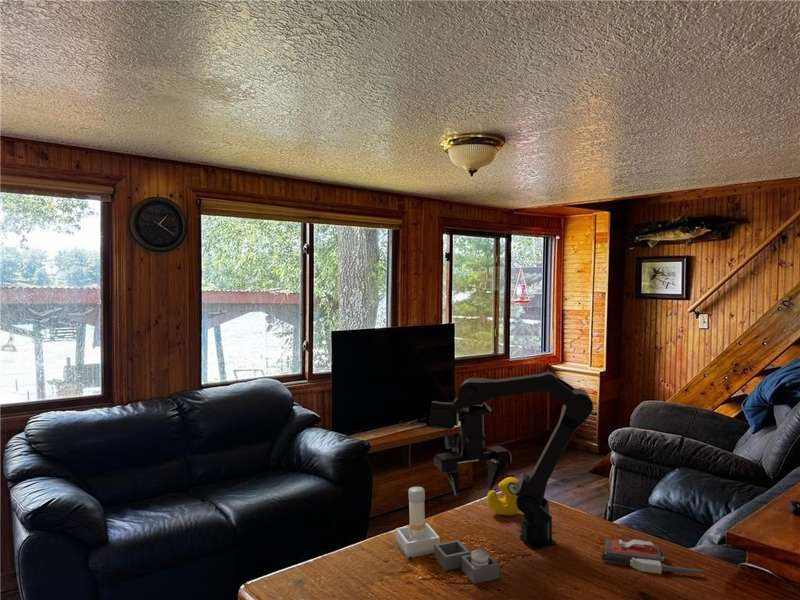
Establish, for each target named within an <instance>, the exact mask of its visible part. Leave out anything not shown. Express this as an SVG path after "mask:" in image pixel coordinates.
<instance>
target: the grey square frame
mask: <svg viewBox="0 0 800 600" xmlns="http://www.w3.org/2000/svg"><path fill="white" fill-rule="evenodd" d="M434 552H435V553H434V559H435V558H436V559H437V560H436V559H435V560H436V562H438V564H439V563H440V564H439V565H440V566H441V567H442V568H443V570H444V571H449V570H455V569H459V568H461V556H465V555H470V554H471V551H469V550H468V548H467V547H466V546H465V545H464V544H463V543H462V542H461V541H460V540H459V539H456V540H451V541H446V542H442V543H441V542H440V544H435V545H434Z"/></svg>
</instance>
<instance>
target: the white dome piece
mask: <svg viewBox="0 0 800 600" xmlns="http://www.w3.org/2000/svg"><path fill="white" fill-rule="evenodd" d="M470 554H471V560H472V565H473V566H474V567H475V568H476V567H481V566H485V565H488V561H489V555H490V554H489V552H488V551H486V550H485V549H480V548H479V549H473V550H472V551H470Z"/></svg>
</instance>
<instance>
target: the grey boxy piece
mask: <svg viewBox="0 0 800 600" xmlns="http://www.w3.org/2000/svg"><path fill="white" fill-rule="evenodd" d="M460 568H461V571H462V572H463V574H464V575H466V577H467V578H468V579H469V581H470V582H471V583H472V584H474V585H475V584H480V583H484V582H488V581H492V580H498V579H501V578H500V577H501V576H500V575H501V574H500V564H499V562H498V561H497V560H495V559H494V558H493V557H492V555H491V554H489V561H488V565H485V566H481V567H476V568H475V567H474V566H473V565H472V560H471V553H470V555H465V556H461V567H460Z"/></svg>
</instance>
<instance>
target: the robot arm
mask: <svg viewBox="0 0 800 600" xmlns="http://www.w3.org/2000/svg"><path fill="white" fill-rule="evenodd" d="M536 392H537V393H538V392H548V393H549V394H551V396H553V397H554V398H555V399H557V400H558V401H559V402H560V403H562V407H561V412H560V415H559V420H558V422H557V424H556V426H555V428H554V430H553V431H552V434H551V436H550V437H549V439H548V441H547V443H546V445H545V447H544V448H543V451H542V453H541V455H539V456H540V457H539V458H538V460H537V462H536V464H535V465H534V468H533V469H532V471H530V473H528V474H527V473H526V472H524V471H523V472H522V474H521V477H520V479H519V482H518V483H517V484H516V494H515V495H516V504H517V507H518V509H519V512H521V513H522V514H523V515H522V522H521V524H520V529H521V531H520V532H521V533H520V534H519V539H520V540H522V541H523V542H524V543H525V544H526V545H528V546H529V547H530V548H531V549H533V550H536V549H540V548H546V547H549V546H556V545H557V542H556V541H555V540H554V539H553V516H552V515H551V509H550V502H549V501H548V500H547V498H546V497H544V496H545V492H546V490H547V489H546V488H547V485H548V481H549V479H550V477H551V476H552V474H553V473H554V470H555V469H556V467H557V465H558V464H559V461H560V459H561V457H562V455H563V454H564V451H565V450H566V448H567V446H568V444H569V442H570V440H571V438H572V437H573V434H574V433H575V431H576V430H577V429H579V428H580V427H581V426H582V425H583V424H584V422H586V420H587V419H588V418H589V416H591V414H592V413H593V410H594V403H593V400H592V398H591V396H590V395H589V393H588V392H587V391H586V390H584V389H582V388H575V387H574V386H572V385H570V384H569V383H567V382H566V381H564V380H563V379H561V378H559V377H558V376H556V375H555V373H553V372H551V371H545V372H542V373H537V374H536V373H535V374H528V375H521V376H515V377H506V378H500V379H494V378H491V379H490V378H487V377H486V378H485V377H468V378H467V379H465V380H463V381H462V384H461V386H460V387H459V391H458V395H457V397H455V398H454V400H453V401H452V402H450V401H449V402H447V401H446V402H444V401H439V400H438V401H437V400H433V401H431V403H430V414H429V415H430V416H429V417H428V419H429V420H428V421H429V429H430V430H443V431H446V430H448V431H449V430H450V431H454V429H455V426H456V427H458V426H459V422H460V431H459V432H458V434H457V437H455V436H454V435H453V434H451V435H444V446H445V448H446V450H448V449H452V452H456V453H457V454H458V455H456V456H454V454H453V455H452V453H450V452H444V453H436V454H435V455H434V457H433V466H434V467H436V469H438V470H439V471H440V472H441V473H444V474H445V475H446V476H447V478H448V479H449V483H450V485H451V488H452V491H453V493H454V495H455V496H456V497H458V496H459V492H460V491H459V490H460V484H459V483H460V472H459V470H457V469H458V468H459V465H464V464H470V463H471V464H472V463H478V462H483V461H486V465H487V488H488V489H487V490H489V492H490V491H491V490H493V488H494V486H495V484H496V482H497V480H498V478H499V476H500V474H501V473H502V471H503V470H504V468H505V467H507V466H508V465H507V464H511V463H512V454H511V452H510V451H509V450H508V449H506V448H505V447H504V446H501V445H493V446H488V447H487V448H486V451H485V441H487V436H486V435H485V424H484V423H485V419H484V418H485V415H490V414H491V413H492V408H491V407H490V406H489V405H488V404H487V402H489V401H491V400H493V399H496V398H499V397H505V396H513V395H522V394H530V393H536ZM467 406H468V407H467ZM459 414H460V415H459ZM459 418H460V419H459ZM459 420H460V421H459Z"/></svg>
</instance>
